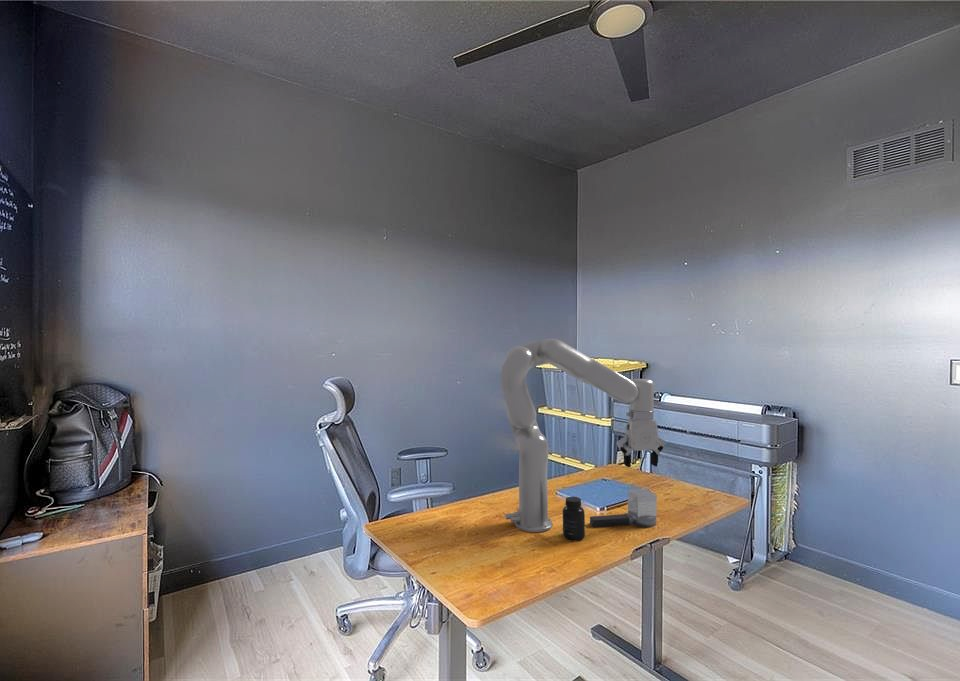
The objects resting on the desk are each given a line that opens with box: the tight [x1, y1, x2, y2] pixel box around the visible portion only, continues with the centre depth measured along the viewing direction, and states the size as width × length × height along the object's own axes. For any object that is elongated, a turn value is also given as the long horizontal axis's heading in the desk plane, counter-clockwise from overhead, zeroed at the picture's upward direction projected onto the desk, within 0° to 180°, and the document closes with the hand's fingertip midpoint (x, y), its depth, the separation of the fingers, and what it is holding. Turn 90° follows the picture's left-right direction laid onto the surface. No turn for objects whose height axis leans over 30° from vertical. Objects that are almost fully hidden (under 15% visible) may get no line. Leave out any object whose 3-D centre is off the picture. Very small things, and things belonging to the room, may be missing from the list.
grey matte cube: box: [627, 488, 658, 518], centre depth 155 cm, size 7×7×7 cm
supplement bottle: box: [562, 496, 586, 542], centre depth 144 cm, size 7×7×12 cm
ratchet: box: [589, 510, 657, 528], centre depth 154 cm, size 22×9×8 cm, turn 99°
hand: (640, 465), depth 155 cm, fingers open, 9 cm apart
